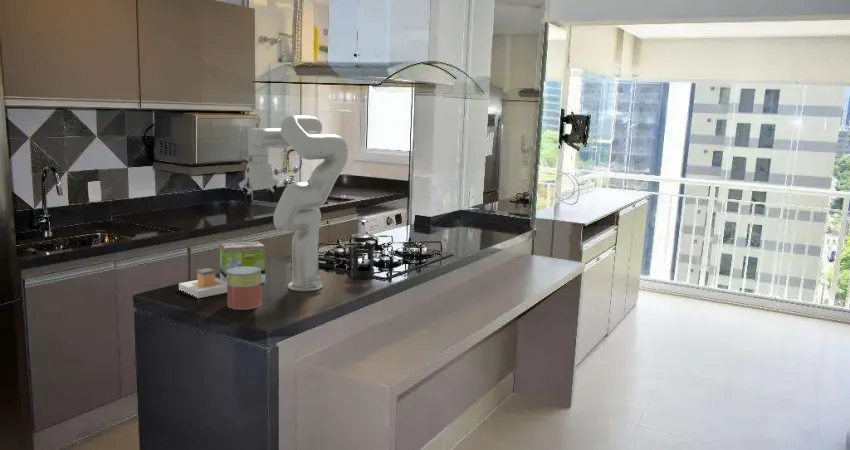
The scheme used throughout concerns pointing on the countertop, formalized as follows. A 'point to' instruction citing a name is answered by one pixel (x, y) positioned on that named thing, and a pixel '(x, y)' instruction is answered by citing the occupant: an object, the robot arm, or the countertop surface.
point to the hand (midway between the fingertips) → (259, 203)
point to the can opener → (325, 263)
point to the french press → (362, 271)
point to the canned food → (244, 287)
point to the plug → (206, 277)
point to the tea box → (242, 257)
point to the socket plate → (199, 292)
